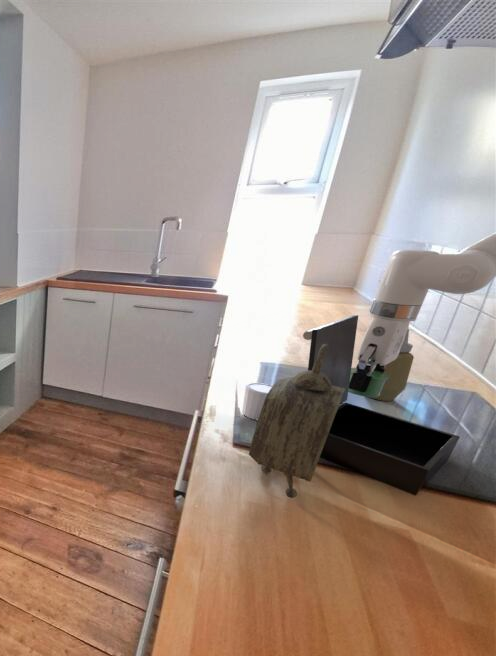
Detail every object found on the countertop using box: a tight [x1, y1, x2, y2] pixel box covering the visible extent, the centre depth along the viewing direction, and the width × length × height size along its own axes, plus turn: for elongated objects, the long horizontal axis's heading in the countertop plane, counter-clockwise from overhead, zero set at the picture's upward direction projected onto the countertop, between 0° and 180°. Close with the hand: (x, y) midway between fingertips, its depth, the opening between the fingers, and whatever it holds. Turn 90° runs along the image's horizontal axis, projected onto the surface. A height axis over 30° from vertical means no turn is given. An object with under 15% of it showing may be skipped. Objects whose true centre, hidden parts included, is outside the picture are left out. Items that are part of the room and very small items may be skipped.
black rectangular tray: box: [319, 401, 461, 496], centre depth 79 cm, size 18×20×6 cm
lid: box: [302, 314, 359, 405], centre depth 84 cm, size 18×20×5 cm
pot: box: [348, 367, 389, 398], centre depth 95 cm, size 7×7×5 cm
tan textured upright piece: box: [248, 344, 345, 499], centre depth 70 cm, size 14×9×25 cm, turn 136°
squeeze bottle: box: [369, 328, 415, 402], centre depth 102 cm, size 8×8×18 cm
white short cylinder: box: [241, 382, 273, 420], centre depth 95 cm, size 7×7×7 cm
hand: (363, 385), depth 95 cm, fingers closed on pot, 7 cm apart
